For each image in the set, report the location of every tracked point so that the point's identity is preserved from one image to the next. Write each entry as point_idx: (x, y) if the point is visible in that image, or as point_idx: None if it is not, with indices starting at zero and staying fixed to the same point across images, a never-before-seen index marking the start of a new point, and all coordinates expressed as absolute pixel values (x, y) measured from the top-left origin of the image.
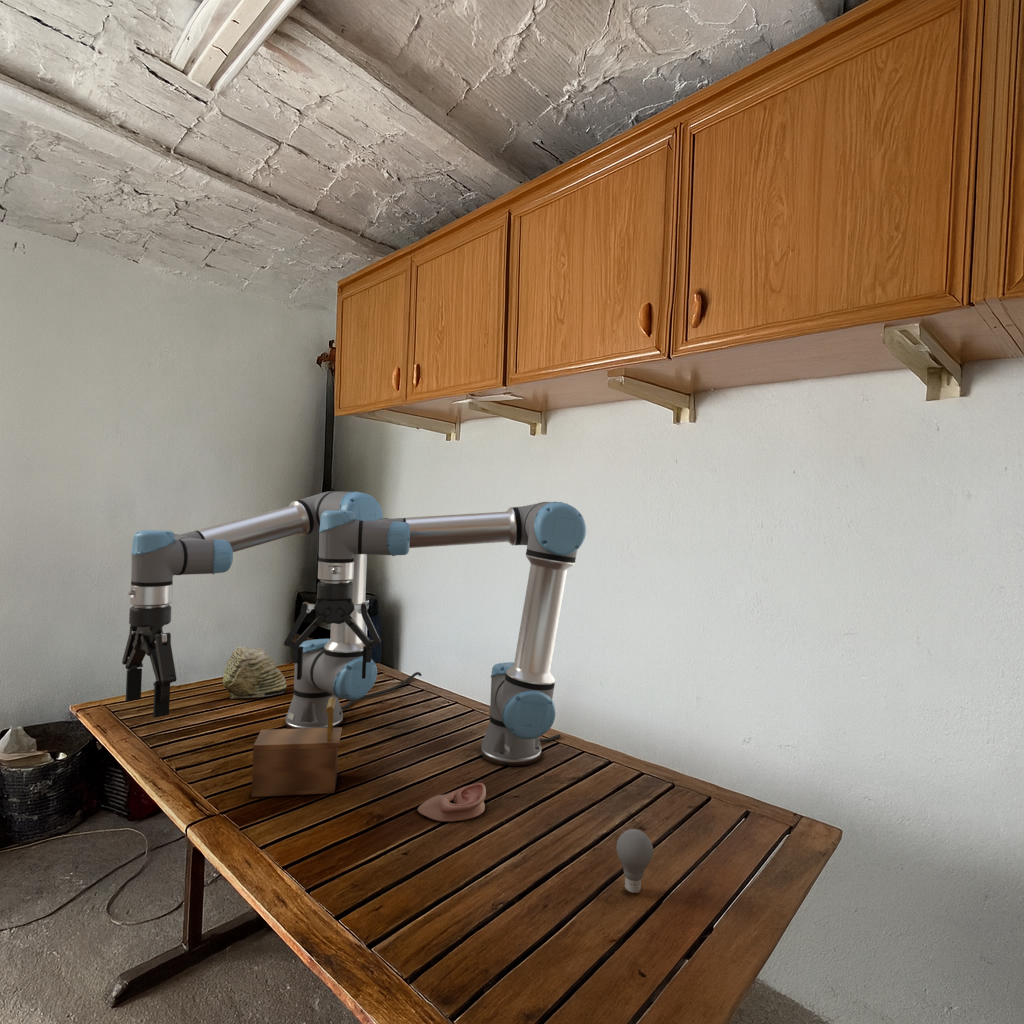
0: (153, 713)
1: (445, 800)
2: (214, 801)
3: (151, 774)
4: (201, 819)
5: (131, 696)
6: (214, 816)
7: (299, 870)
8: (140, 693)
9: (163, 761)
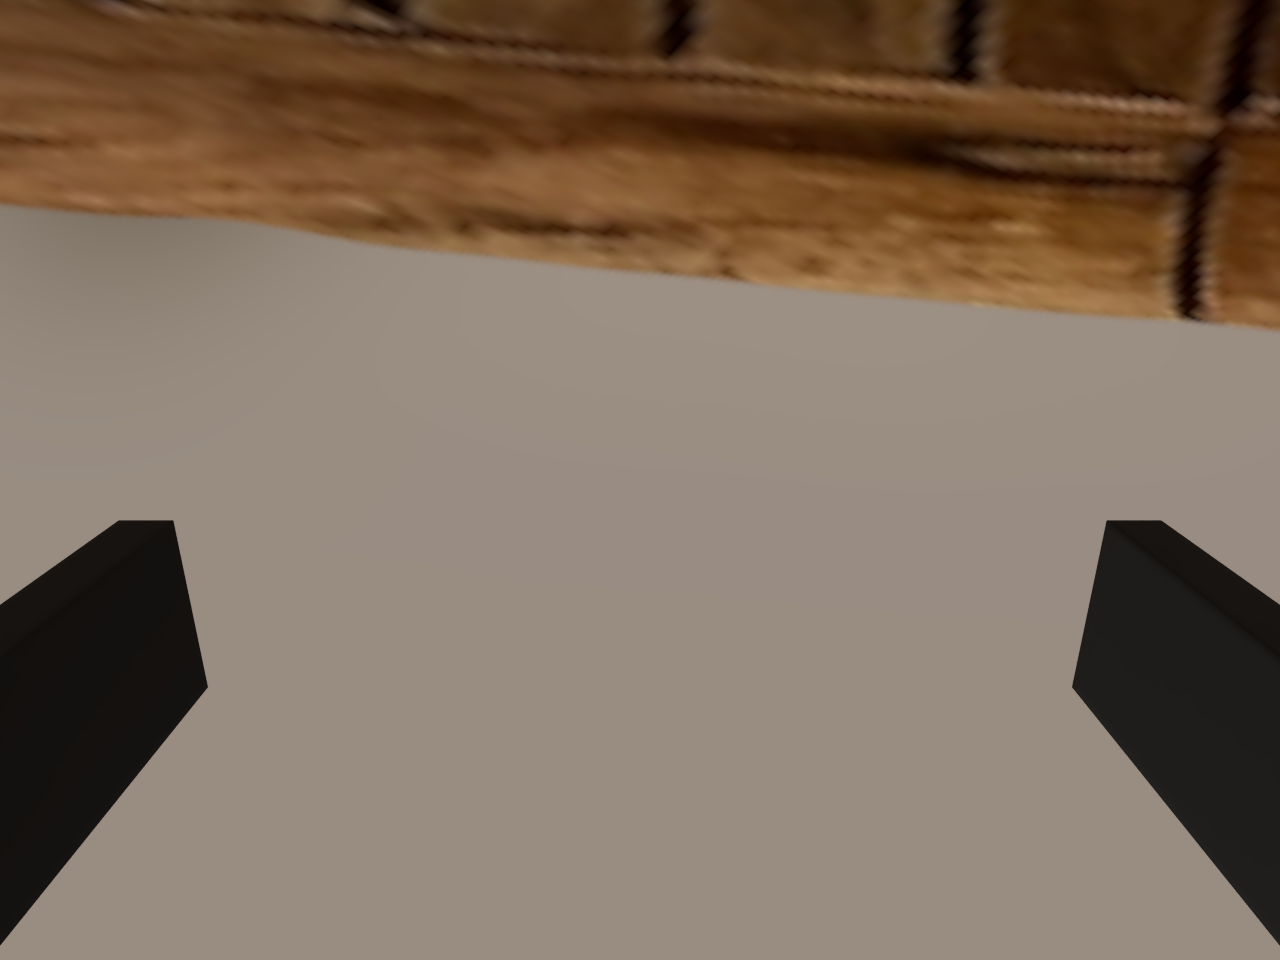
0: (1100, 713)
1: None
2: (1057, 60)
3: (357, 179)
4: (1190, 234)
5: (164, 674)
6: (1227, 161)
7: None
8: (122, 565)
9: (165, 13)
